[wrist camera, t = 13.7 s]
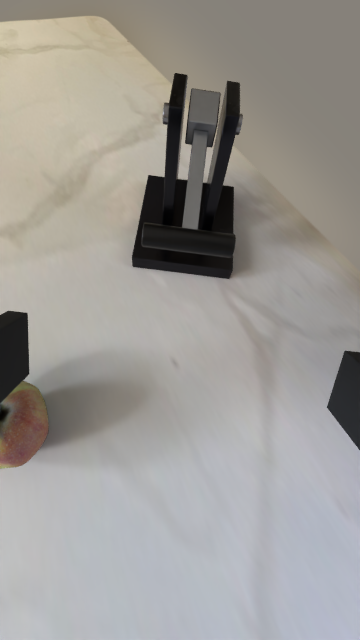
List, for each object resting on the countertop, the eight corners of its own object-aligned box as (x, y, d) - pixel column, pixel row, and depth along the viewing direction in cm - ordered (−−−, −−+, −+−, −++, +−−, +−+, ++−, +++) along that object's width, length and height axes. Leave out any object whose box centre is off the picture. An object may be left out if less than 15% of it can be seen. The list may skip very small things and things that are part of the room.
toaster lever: (228, 262, 24) (235, 251, 21) (142, 252, 23) (140, 238, 21) (241, 121, 26) (249, 96, 23) (162, 109, 26) (162, 83, 23)
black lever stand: (229, 279, 32) (278, 157, 20) (132, 266, 32) (122, 135, 20) (230, 196, 38) (270, 61, 26) (148, 185, 37) (148, 42, 25)
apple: (-24, 507, 22) (-79, 517, 16) (-24, 395, 25) (-70, 373, 20) (65, 481, 23) (41, 482, 18) (54, 377, 26) (30, 352, 21)
